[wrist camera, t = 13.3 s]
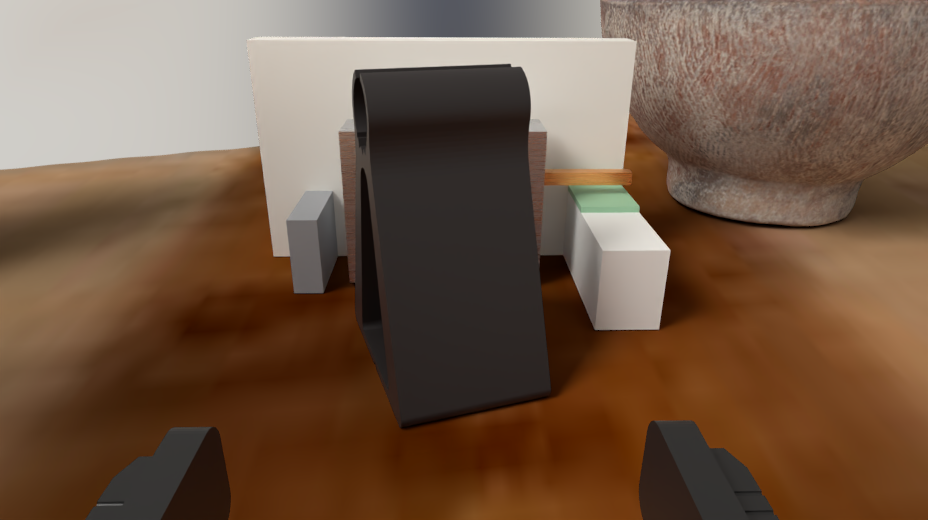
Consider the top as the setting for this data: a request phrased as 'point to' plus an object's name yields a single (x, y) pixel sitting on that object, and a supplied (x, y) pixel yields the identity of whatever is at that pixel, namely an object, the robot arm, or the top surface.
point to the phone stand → (447, 239)
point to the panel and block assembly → (552, 102)
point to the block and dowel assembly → (537, 178)
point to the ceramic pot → (776, 98)
